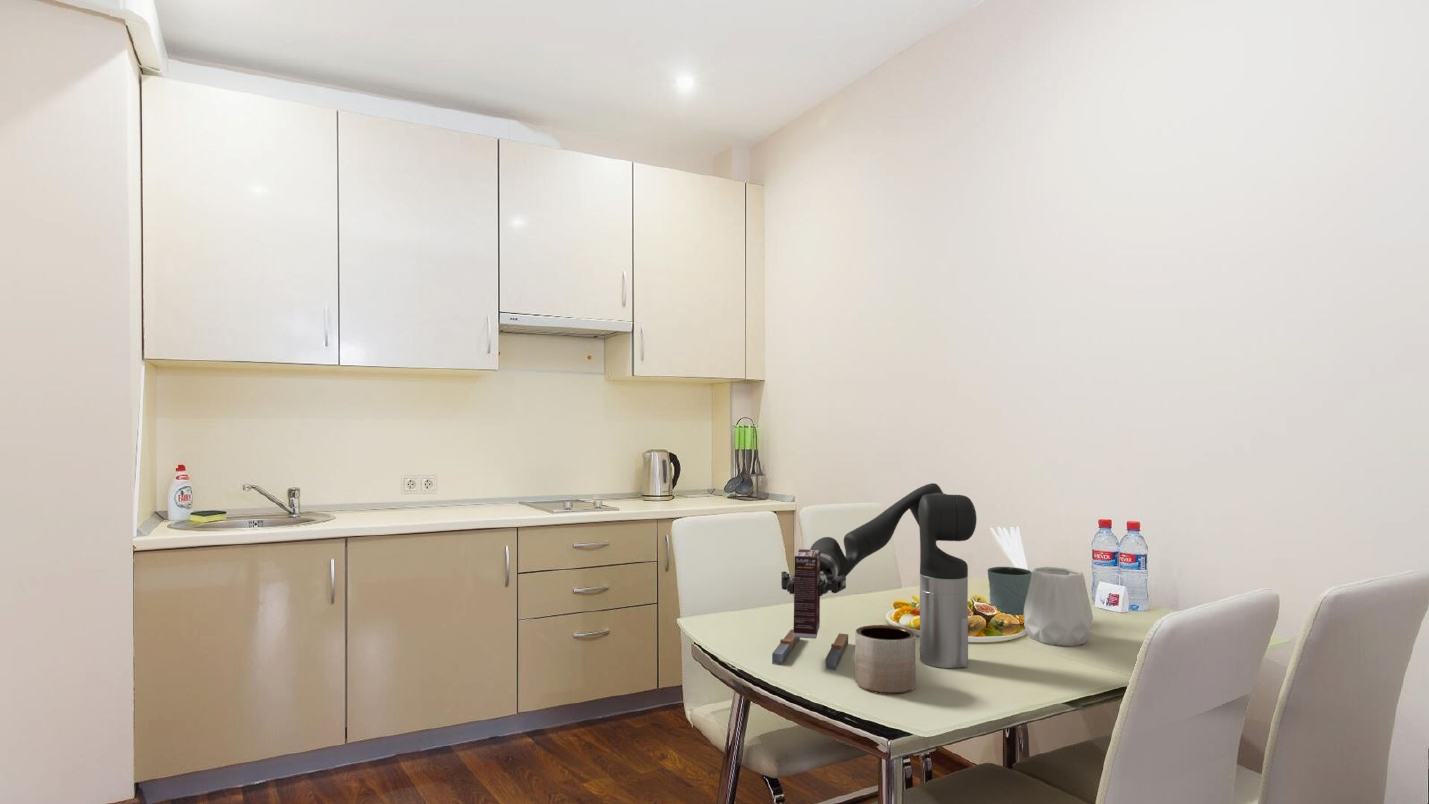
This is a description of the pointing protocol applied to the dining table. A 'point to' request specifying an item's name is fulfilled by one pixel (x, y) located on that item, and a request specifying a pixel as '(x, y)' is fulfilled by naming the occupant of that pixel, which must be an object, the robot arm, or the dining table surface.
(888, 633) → the planter
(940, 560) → the robot arm
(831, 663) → the pair of brown-grey bars
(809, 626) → the supplement box
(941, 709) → the dining table surface
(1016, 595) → the teal embossed flower pot
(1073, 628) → the vase
